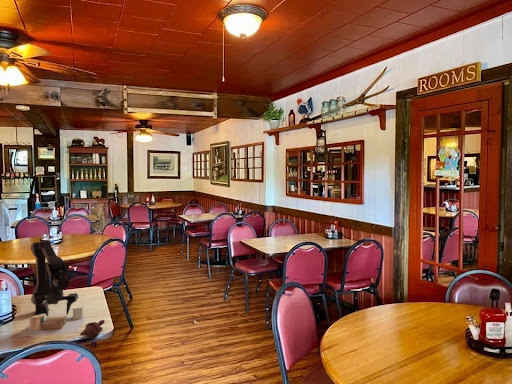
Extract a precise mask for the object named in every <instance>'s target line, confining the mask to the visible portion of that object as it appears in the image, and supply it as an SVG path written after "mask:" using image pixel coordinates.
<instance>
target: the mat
mask: <svg viewBox="0 0 512 384" xmlns="http://www.w3.org/2000/svg"><path fill="white" fill-rule="evenodd" d="M66 317H67V322H66V323H65V325H64V326H63V328H62V329H55V330H42V329H36V330H30V324H28V326H27V327H26V328H25V329H24V330H23V331H22V332H21V333H20V334H19V335H18V336H17V338H18V339H21V338H30V337H35V336H38V337H39V336H49V335H62V334H72V333H73V334H77V333H78V332H79V330H80V328H81V327H82V325H83V324H84V321H85V320H86V319H87V317H88V314H85V315H84V314H83V319H76V320H73V315H66ZM47 318H48V317H44V321H45V320H46V319H47Z"/></svg>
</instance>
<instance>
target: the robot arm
mask: <svg viewBox="0 0 512 384" xmlns="http://www.w3.org/2000/svg"><path fill="white" fill-rule="evenodd" d="M30 251H31V254H32V255H33V257H34V258H35V267H36V268H35V272H36V284H35V286H34V287H33V293H31V294H32V295H31V298H30V300H31V303H32V304H33V305H35V308H34V309H35V310H34V312H33V313H32V314H33V316H36V315H44V314H45V316H46V317H49V311H50V308H49V306H50V305H58V303H59V302H61V301H66V313H65V314H66V316H69V315H68V314H69V312H70V309H71V307H72V304H74V303H75V302H76V301H78V299H79V295H78V293H74V292H73V293H69V294H68V295H65V294H64V290H66V289H68V288H69V286H70V282H71V281H70V280H69V279H68V278H67V277H66V275H68V267H67V265H66V263H65V261H64V260H63V259H62V258H61V257H60V256H57V254H56V252H55V250H54V248H53V246H52V243H51V240H49V239H48V240H41V241H38V242H36V241H35V242H33V243H32V244H31V245H30ZM47 273H48V275H49V285H48V284H47Z"/></svg>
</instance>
